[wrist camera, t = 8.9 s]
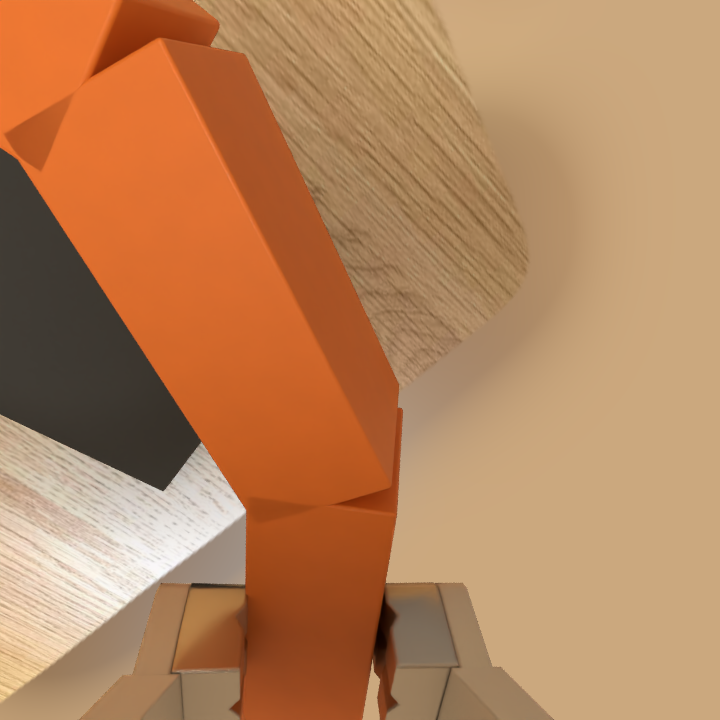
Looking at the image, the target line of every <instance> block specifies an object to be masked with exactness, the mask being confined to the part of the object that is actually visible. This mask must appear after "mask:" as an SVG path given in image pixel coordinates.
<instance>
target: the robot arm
mask: <svg viewBox="0 0 720 720" xmlns="http://www.w3.org/2000/svg"><path fill="white" fill-rule="evenodd" d="M247 628H248V595H246V593H245V585H243V584H202V583H187V584H186V583H161V584H160V586H159V588H158V589H157V591H156V594H155V598H154V601H153V605H152V608H151V612H150V615H149V619H148V622H147V626H146V629H145V632H144V637H143V640H142V643H141V646H140V650H139V653H138V657H137V660H136V664H135V668H134V671H133V674H132V675H122V677H120V678H119V680H118V681H117V682H116V683H115V684H114V685H113V686H112V687H111V688H110V689H109V690H108V691H107V692H106V693H105V694H104V695H103V696H102V697H101V698H100V699H99V700H98V701H97V702H96V703H95V704H94V705H93V706H92V707H91V708H90V709H89V710H88V711H87V712H86V713H85V714H84V715H83V716H82V717H81V718H80V719H79V720H242V713H243V703H244V677H245V676H246V671H247V649H248V641H247V639H246V638H245V635H246V633H247ZM373 664H374V672H375V673H376V675H377V676H378V677H379V678H380V685H379V691H378V697H377V699H378V707H379V714H380V720H554V719H553V718H552V717H551V716H550V715H549V714H548V713H547V712H546V711H545V710H544V709H543V708H541V706H540V705H539V704H538V703H537V702H535V701H534V699H533V698H531V696H530V695H529V694H528V693H526V691H525V690H524V689H522V688H521V687H520V686H519V685H518V684H517V683H516V682H515V681H514V680H513V679H512V678H511V677H510V676H509V675H508V674H507V673H506V672H505V671H504V670H503V669H502V668H501V667H492V664H491V661H490V658H489V655H488V652H487V649H486V646H485V643H484V640H483V637H482V634H481V630H480V627H479V624H478V621H477V618H476V615H475V612H474V609H473V606H472V603H471V600H470V597H469V594H468V591H467V588H466V586H465V585H464V584H463V583H435V584H434V583H385V588H384V594H383V600H382V606H381V612H380V618H379V624H378V630H377V636H376V641H375V647H374V653H373Z"/></svg>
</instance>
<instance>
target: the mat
mask: <svg viewBox="0 0 720 720" xmlns="http://www.w3.org/2000/svg"><path fill="white" fill-rule="evenodd" d="M0 414H1V415H3V416H5V417H7V418H9V419H11V420H13V421H15V422H18V423H20V424H22V425H24V426H26V427H28V428H30V429H32V430H34V431H37V432H39V433H41V434H43V435H45V436H47V437H49V438H51V439H54V440H56V441H58V442H60V443H62V444H64V445H66V446H68V447H70V448H73V449H75V450H77V451H79V452H81V453H83V454H85V455H87V456H90V457H92V458H94V459H96V460H98V461H100V462H102V463H104V464H106V465H109V466H111V467H113V468H115V469H117V470H119V471H121V472H123V473H125V474H128V475H130V476H132V477H134V478H136V479H138V480H140V481H142V482H145V483H147V484H149V485H151V486H153V487H155V488H157V489H159V490H161V491H164V490H165V489H166V487H167V486H168V485H169V483H170V482H171V481H172V479H173V478H174V477H175V475H176V474H177V473H178V472H179V470H180V469H181V468H182V466H183V465H184V464H185V462H186V461H187V460H188V458H189V457H190V456H191V454H192V453H193V452H194V450H195V449H196V448H197V446H198V445H199V444H200V443H201V440H200V438H199V437H198V435H197V434H196V432H195V431H194V429H193V428H192V426H191V425H190V423H189V421H188V420H187V418H186V417H185V415H184V414H183V412H182V411H181V409H180V408H179V406H178V405H177V403H176V402H175V400H174V398H173V397H172V395H171V394H170V392H169V391H168V389H167V388H166V386H165V385H164V383H163V382H162V380H161V379H160V377H159V375H158V374H157V372H156V371H155V369H154V368H153V366H152V365H151V363H150V362H149V360H148V359H147V357H146V356H145V354H144V352H143V351H142V349H141V348H140V346H139V345H138V343H137V342H136V340H135V339H134V337H133V336H132V334H131V333H130V331H129V330H128V328H127V326H126V325H125V323H124V322H123V320H122V319H121V317H120V316H119V314H118V313H117V311H116V310H115V308H114V307H113V305H112V303H111V302H110V300H109V299H108V297H107V296H106V294H105V293H104V291H103V290H102V288H101V287H100V285H99V284H98V282H97V280H96V279H95V277H94V276H93V274H92V273H91V271H90V270H89V268H88V267H87V265H86V264H85V262H84V261H83V259H82V257H81V256H80V254H79V253H78V251H77V250H76V248H75V247H74V245H73V244H72V242H71V241H70V239H69V238H68V236H67V234H66V233H65V231H64V230H63V228H62V227H61V225H60V224H59V222H58V221H57V219H56V218H55V216H54V215H53V213H52V211H51V210H50V208H49V207H48V205H47V204H46V202H45V201H44V199H43V198H42V196H41V195H40V193H39V192H38V190H37V188H36V187H35V185H34V184H33V182H32V181H31V179H30V178H29V176H28V175H27V173H26V172H25V170H24V169H23V167H22V165H21V164H20V162H19V161H18V159H16V158H15V157H13V156H12V155H10V154H9V153H7V152H6V151H4V150H3V149H2V148H0Z"/></svg>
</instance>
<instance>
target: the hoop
mask: <svg viewBox="0 0 720 720" xmlns="http://www.w3.org/2000/svg"><path fill="white" fill-rule="evenodd" d="M219 26H220V24H219V22H218V20H216V19H215V18H214V17H213V16H211V15H210V14H209V13H208V12H206V11H205V10H204V9H203V8H201V7H200V6H199V5H197V4H196V3H195V2H194V1H192V0H0V148H2V149H3V150H4V151H6V152H7V153H9V154H10V155H12V156H13V157H15V158H16V159H18V161H19V162H20V164H21V165H22V167H23V169H24V170H25V172H26V173H27V175H28V176H29V178H30V179H31V181H32V182H33V184H34V185H35V187H36V188H37V190H38V192H39V193H40V195H41V196H42V198H43V199H44V201H45V202H46V204H47V205H48V207H49V208H50V210H51V211H52V213H53V215H54V216H55V218H56V219H57V221H58V222H59V224H60V225H61V227H62V228H63V230H64V231H65V233H66V234H67V236H68V238H69V239H70V241H71V242H72V244H73V245H74V247H75V248H76V250H77V251H78V253H79V254H80V256H81V257H82V259H83V261H84V262H85V264H86V265H87V267H88V268H89V270H90V271H91V273H92V274H93V276H94V277H95V279H96V280H97V282H98V284H99V285H100V287H101V288H102V290H103V291H104V293H105V294H106V296H107V297H108V299H109V300H110V302H111V303H112V305H113V307H114V308H115V310H116V311H117V313H118V314H119V316H120V317H121V319H122V320H123V322H124V323H125V325H126V326H127V328H128V330H129V331H130V333H131V334H132V336H133V337H134V339H135V340H136V342H137V343H138V345H139V346H140V348H141V349H142V351H143V352H144V354H145V356H146V357H147V359H148V360H149V362H150V363H151V365H152V366H153V368H154V369H155V371H156V372H157V374H158V375H159V377H160V379H161V380H162V382H163V383H164V385H165V386H166V388H167V389H168V391H169V392H170V394H171V395H172V397H173V398H174V400H175V402H176V403H177V405H178V406H179V408H180V409H181V411H182V412H183V414H184V415H185V417H186V418H187V420H188V421H189V423H190V425H191V426H192V428H193V429H194V431H195V432H196V434H197V435H198V437H199V438H200V440H201V441H202V443H203V444H204V446H205V448H206V449H207V451H208V452H209V454H210V455H211V457H212V458H213V460H214V461H215V463H216V464H217V466H218V467H219V469H220V471H221V472H222V474H223V475H224V477H225V478H226V480H227V481H228V483H229V484H230V486H231V487H232V489H233V490H234V492H235V494H236V495H237V497H238V498H239V500H240V501H241V503H242V504H243V506H244V507H245V509H246V582H245V593H246V595H248V628H247V633H246V635H245V638H246V639H247V641H248V649H247V671H246V676H245V677H244V703H243V713H242V720H362V718H363V712H364V706H365V700H366V694H367V689H368V683H369V677H370V671H371V664H372V659H373V653H374V647H375V641H376V636H377V630H378V624H379V618H380V612H381V606H382V600H383V594H384V588H385V583H386V576H387V571H388V564H389V559H390V553H391V547H392V541H393V535H394V530H395V524H396V518H397V505H398V488H399V470H400V469H399V468H400V452H401V436H402V435H401V434H402V418H403V410H402V408H397V407H398V394H399V384H398V381H397V379H396V377H395V375H394V373H393V371H392V368H391V366H390V364H389V362H388V360H387V358H386V356H385V353H384V351H383V349H382V347H381V345H380V343H379V341H378V338H377V336H376V334H375V332H374V330H373V328H372V326H371V323H370V321H369V319H368V317H367V315H366V313H365V311H364V308H363V306H362V304H361V302H360V300H359V298H358V295H357V293H356V291H355V289H354V287H353V285H352V283H351V280H350V278H349V276H348V274H347V272H346V270H345V268H344V265H343V263H342V261H341V259H340V257H339V255H338V253H337V250H336V248H335V246H334V244H333V242H332V240H331V237H330V235H329V233H328V231H327V229H326V227H325V225H324V222H323V220H322V218H321V216H320V214H319V212H318V210H317V207H316V205H315V203H314V201H313V199H312V197H311V195H310V192H309V190H308V188H307V186H306V184H305V182H304V180H303V177H302V175H301V173H300V171H299V169H298V167H297V164H296V162H295V160H294V158H293V156H292V154H291V152H290V149H289V147H288V145H287V143H286V141H285V139H284V137H283V134H282V132H281V130H280V128H279V126H278V124H277V122H276V119H275V117H274V115H273V113H272V111H271V109H270V107H269V104H268V102H267V100H266V98H265V96H264V94H263V91H262V89H261V87H260V85H259V83H258V81H257V79H256V76H255V74H254V72H253V70H252V68H251V66H250V64H249V61H248V59H247V57H246V55H245V54H243V53H238V52H233V51H227V50H222V49H217V48H212V47H210V45H211V43H212V41H213V39H214V38H215V36H216V34H217V32H218V30H219Z"/></svg>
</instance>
